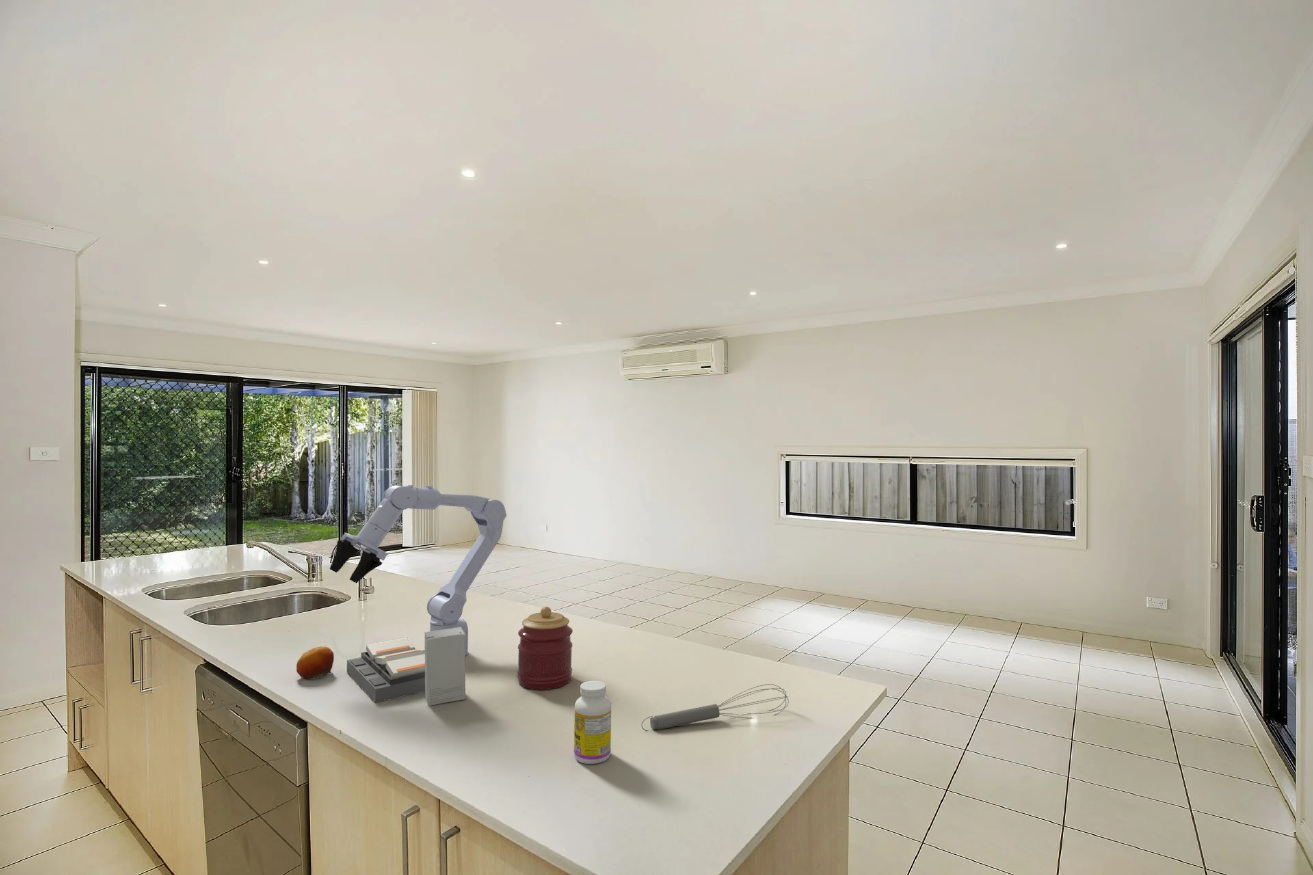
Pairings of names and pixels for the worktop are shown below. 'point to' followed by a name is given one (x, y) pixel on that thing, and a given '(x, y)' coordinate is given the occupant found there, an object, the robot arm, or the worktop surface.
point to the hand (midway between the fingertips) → (342, 576)
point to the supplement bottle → (592, 724)
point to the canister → (544, 651)
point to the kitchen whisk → (702, 713)
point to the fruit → (315, 663)
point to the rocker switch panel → (382, 679)
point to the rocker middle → (398, 656)
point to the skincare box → (444, 666)
